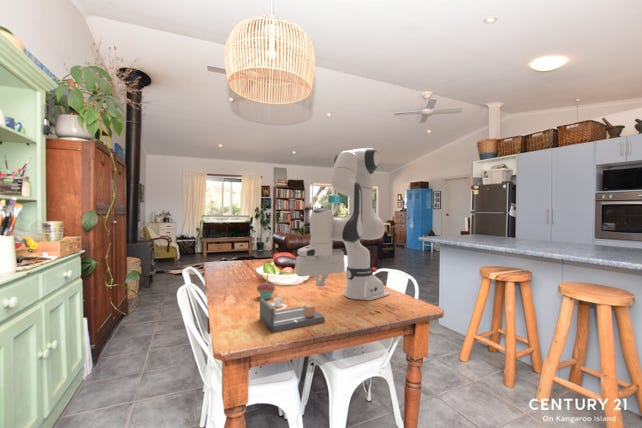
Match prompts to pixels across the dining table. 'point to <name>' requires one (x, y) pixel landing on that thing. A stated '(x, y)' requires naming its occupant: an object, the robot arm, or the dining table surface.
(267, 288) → the cupcake
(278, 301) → the teacup and saucer
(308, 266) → the robot arm
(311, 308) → the terracotta fader knob
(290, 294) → the dining table surface
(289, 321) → the console
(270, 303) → the cream fader knob
